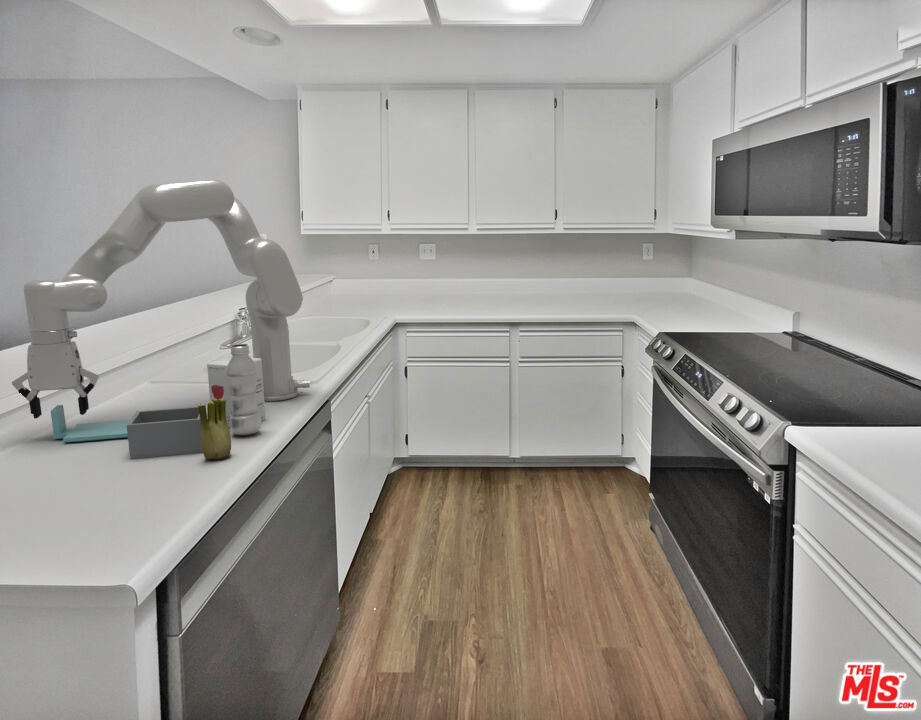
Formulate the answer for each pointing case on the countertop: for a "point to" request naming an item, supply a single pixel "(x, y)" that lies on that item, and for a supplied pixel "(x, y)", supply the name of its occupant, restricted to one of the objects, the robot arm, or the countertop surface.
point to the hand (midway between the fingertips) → (60, 414)
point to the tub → (164, 432)
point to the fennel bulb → (214, 430)
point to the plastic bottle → (243, 391)
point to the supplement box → (221, 385)
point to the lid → (86, 428)
